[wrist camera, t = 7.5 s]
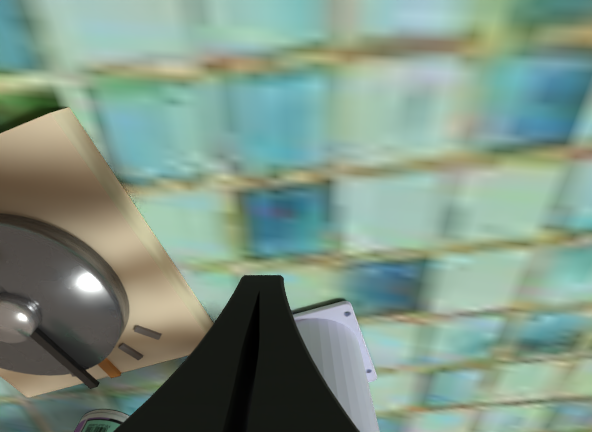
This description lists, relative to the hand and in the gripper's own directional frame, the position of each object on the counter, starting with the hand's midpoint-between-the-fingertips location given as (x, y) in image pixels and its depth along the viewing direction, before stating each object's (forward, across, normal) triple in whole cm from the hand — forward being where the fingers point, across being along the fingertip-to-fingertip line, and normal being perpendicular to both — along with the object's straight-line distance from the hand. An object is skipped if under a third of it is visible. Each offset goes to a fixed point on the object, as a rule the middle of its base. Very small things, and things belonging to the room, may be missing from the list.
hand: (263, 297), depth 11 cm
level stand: (+9, +16, +7) cm, 19 cm away
